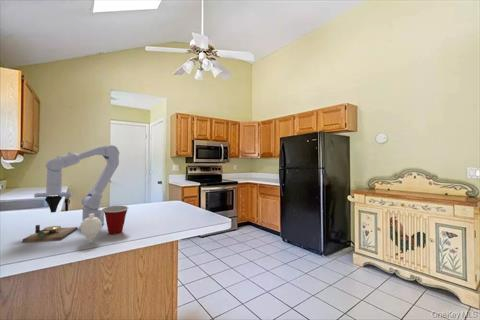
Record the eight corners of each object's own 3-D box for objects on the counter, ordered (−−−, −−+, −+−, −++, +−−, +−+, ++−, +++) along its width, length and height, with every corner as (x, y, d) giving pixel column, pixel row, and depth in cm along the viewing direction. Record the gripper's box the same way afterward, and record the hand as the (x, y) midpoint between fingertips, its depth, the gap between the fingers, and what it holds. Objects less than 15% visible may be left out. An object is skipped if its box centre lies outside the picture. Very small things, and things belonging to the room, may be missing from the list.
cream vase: (98, 245, 94) (99, 215, 94) (76, 246, 92) (77, 216, 92) (103, 239, 101) (104, 211, 102) (83, 240, 99) (84, 212, 99)
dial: (55, 226, 110) (55, 220, 110) (64, 227, 108) (64, 221, 108) (31, 232, 100) (31, 225, 100) (40, 233, 98) (40, 226, 99)
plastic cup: (101, 237, 103) (102, 210, 104) (102, 231, 113) (103, 206, 113) (128, 234, 108) (128, 208, 109) (127, 228, 118) (128, 204, 118)
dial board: (77, 229, 115) (77, 223, 115) (61, 239, 100) (61, 233, 100) (44, 231, 112) (44, 225, 112) (22, 242, 96) (22, 235, 96)
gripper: (74, 182, 117) (74, 209, 117) (40, 183, 113) (39, 211, 112) (69, 184, 110) (68, 212, 110) (32, 184, 106) (31, 214, 106)
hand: (53, 212), depth 111 cm, fingers closed
